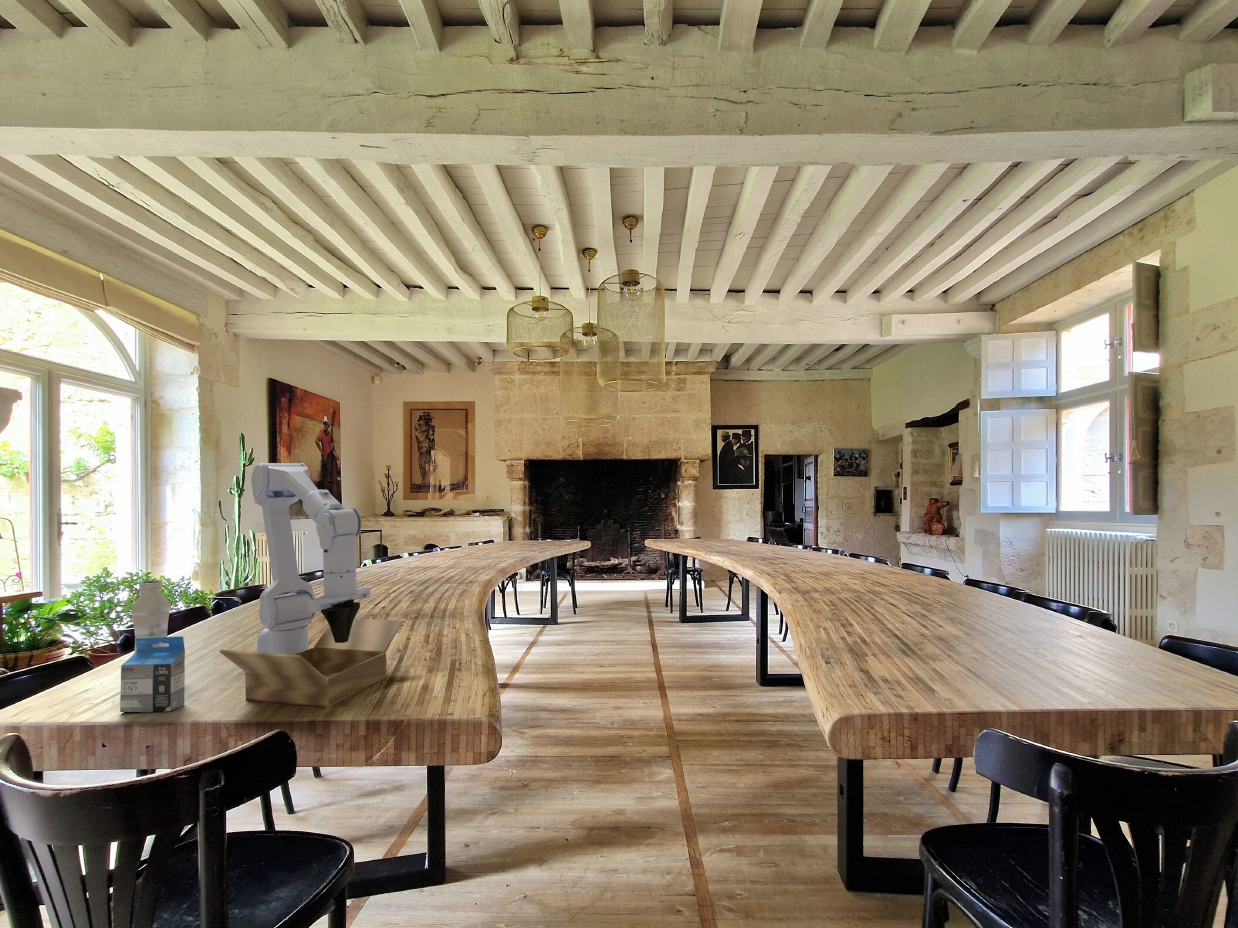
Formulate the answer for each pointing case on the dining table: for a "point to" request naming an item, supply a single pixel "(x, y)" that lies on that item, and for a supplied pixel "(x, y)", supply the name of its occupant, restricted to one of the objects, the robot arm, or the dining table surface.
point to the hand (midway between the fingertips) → (341, 641)
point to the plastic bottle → (151, 612)
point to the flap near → (273, 664)
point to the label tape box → (154, 676)
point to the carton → (341, 680)
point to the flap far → (363, 636)
